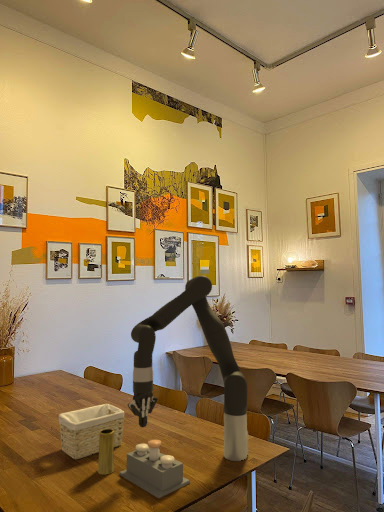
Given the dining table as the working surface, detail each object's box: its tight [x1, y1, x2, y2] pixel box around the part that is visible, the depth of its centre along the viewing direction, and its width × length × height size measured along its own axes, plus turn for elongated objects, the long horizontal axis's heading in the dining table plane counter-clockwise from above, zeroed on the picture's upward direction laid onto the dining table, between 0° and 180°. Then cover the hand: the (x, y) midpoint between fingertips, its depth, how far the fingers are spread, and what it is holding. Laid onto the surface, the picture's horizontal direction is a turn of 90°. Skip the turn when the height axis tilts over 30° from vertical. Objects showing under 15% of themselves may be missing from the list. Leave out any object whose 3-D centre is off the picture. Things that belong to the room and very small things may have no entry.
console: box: [119, 450, 191, 499], centre depth 134 cm, size 14×22×7 cm, turn 45°
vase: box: [97, 429, 115, 476], centre depth 140 cm, size 6×6×14 cm
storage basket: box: [58, 403, 125, 460], centre depth 161 cm, size 24×16×15 cm
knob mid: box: [147, 439, 162, 462], centre depth 135 cm, size 5×5×8 cm
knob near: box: [160, 454, 175, 469], centre depth 129 cm, size 5×5×8 cm
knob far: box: [135, 443, 149, 456], centre depth 139 cm, size 5×5×8 cm
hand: (142, 426), depth 140 cm, fingers closed
